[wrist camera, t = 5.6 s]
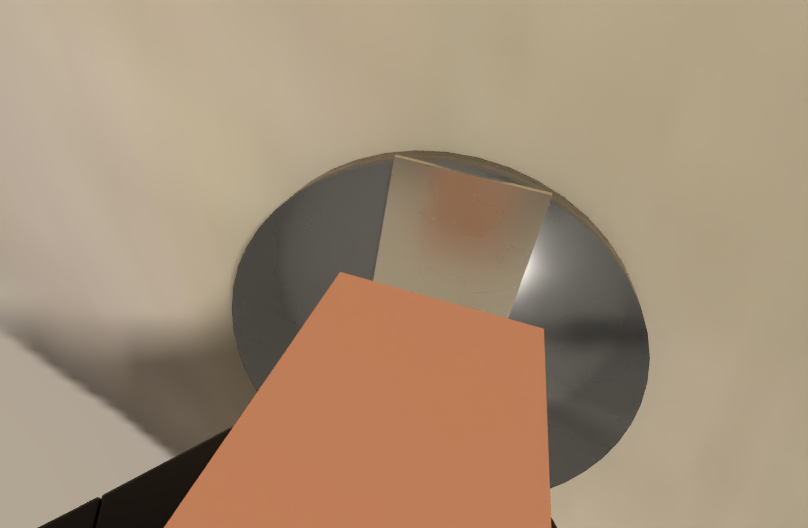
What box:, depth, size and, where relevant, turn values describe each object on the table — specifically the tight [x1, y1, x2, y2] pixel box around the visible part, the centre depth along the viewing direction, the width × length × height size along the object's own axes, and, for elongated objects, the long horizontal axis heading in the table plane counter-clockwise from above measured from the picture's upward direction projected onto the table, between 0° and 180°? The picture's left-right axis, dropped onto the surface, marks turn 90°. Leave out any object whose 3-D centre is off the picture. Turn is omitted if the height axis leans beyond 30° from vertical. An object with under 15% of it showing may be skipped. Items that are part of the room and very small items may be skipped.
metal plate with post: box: [232, 151, 650, 488], centre depth 13 cm, size 14×14×11 cm
